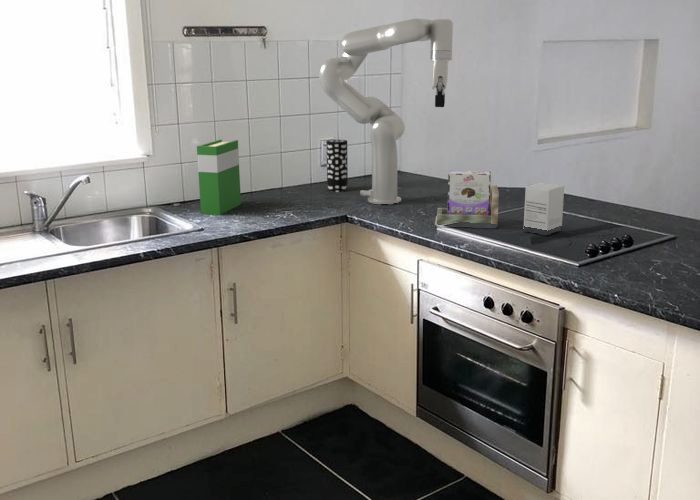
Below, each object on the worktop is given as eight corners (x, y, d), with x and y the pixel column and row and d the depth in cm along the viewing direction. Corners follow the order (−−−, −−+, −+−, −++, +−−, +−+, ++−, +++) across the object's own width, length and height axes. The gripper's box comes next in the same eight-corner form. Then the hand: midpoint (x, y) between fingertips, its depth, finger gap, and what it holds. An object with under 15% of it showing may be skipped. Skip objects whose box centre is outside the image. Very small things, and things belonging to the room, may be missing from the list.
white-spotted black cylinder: (347, 192, 303) (347, 142, 298) (326, 192, 303) (326, 142, 298) (347, 188, 311) (347, 139, 306) (327, 188, 311) (326, 139, 306)
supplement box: (537, 226, 246) (540, 181, 242) (562, 231, 240) (565, 185, 236) (522, 232, 240) (524, 185, 236) (546, 237, 234) (550, 189, 230)
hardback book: (222, 203, 285) (219, 139, 278) (240, 204, 283) (237, 140, 276) (200, 213, 268) (196, 146, 262) (219, 214, 266) (216, 146, 260)
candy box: (489, 219, 253) (491, 170, 248) (489, 223, 247) (491, 173, 242) (448, 217, 255) (449, 169, 251) (446, 221, 250) (448, 172, 245)
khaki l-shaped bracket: (435, 227, 247) (435, 191, 243) (435, 218, 258) (436, 184, 255) (497, 229, 244) (498, 192, 241) (495, 220, 255) (496, 185, 252)
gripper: (431, 55, 272) (430, 103, 277) (429, 56, 256) (428, 108, 260) (452, 55, 271) (450, 103, 276) (451, 56, 255) (450, 108, 259)
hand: (439, 105), depth 268 cm, fingers open, 9 cm apart
